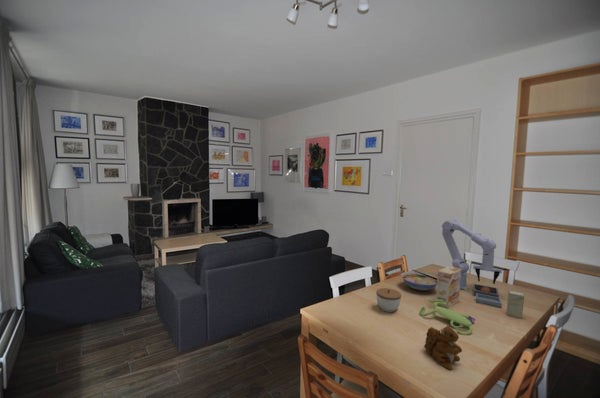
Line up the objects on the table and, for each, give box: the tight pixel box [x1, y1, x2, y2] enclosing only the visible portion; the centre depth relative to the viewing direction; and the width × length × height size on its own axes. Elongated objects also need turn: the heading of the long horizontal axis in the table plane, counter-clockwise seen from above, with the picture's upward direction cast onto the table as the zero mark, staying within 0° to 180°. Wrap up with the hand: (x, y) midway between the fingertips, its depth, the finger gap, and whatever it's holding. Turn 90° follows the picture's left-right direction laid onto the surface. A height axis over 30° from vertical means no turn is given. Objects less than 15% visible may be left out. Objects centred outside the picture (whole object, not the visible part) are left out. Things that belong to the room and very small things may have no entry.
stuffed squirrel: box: [423, 324, 463, 371], centre depth 112 cm, size 10×14×13 cm
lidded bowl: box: [376, 287, 402, 313], centre depth 153 cm, size 13×13×11 cm
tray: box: [475, 293, 503, 309], centre depth 164 cm, size 12×9×2 cm
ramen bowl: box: [400, 269, 438, 292], centre depth 182 cm, size 25×23×8 cm
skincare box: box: [505, 290, 525, 319], centre depth 148 cm, size 6×4×12 cm
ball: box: [481, 285, 490, 293], centre depth 175 cm, size 5×5×5 cm
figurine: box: [418, 298, 476, 336], centre depth 143 cm, size 18×27×6 cm
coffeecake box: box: [435, 265, 461, 309], centre depth 161 cm, size 15×7×20 cm, turn 129°
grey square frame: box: [472, 283, 500, 298], centre depth 175 cm, size 13×13×4 cm
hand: (486, 282), depth 174 cm, fingers open, 7 cm apart
